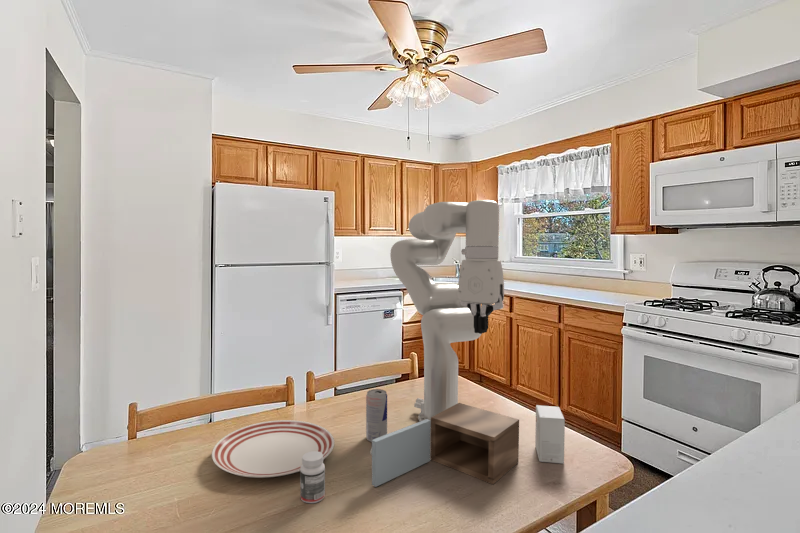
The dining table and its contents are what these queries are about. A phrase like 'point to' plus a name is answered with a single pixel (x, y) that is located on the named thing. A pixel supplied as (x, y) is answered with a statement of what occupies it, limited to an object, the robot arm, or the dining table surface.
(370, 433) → the energy drink
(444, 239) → the robot arm
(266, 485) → the dining table surface
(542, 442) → the small box
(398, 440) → the side door
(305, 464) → the pill bottle
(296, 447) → the dinner plate
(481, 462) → the cabinet
